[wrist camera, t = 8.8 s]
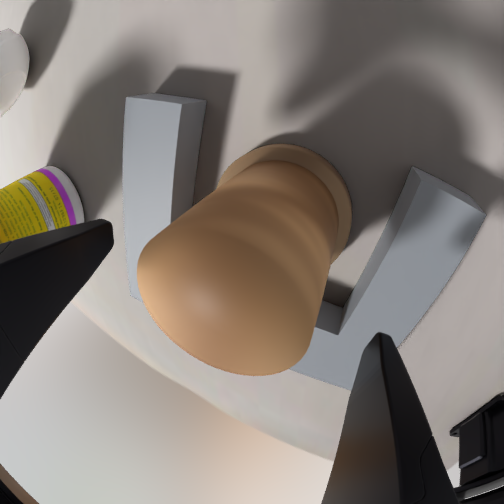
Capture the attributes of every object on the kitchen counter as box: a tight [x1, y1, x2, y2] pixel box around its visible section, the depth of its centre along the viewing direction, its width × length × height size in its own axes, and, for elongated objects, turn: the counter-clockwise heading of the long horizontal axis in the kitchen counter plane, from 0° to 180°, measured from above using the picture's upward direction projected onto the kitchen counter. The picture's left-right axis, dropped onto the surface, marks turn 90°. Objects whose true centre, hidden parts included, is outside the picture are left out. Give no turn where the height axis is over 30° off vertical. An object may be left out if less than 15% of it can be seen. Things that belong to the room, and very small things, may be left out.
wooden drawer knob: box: [137, 143, 352, 376], centre depth 10 cm, size 6×6×7 cm
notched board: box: [123, 93, 486, 390], centre depth 13 cm, size 15×12×2 cm
